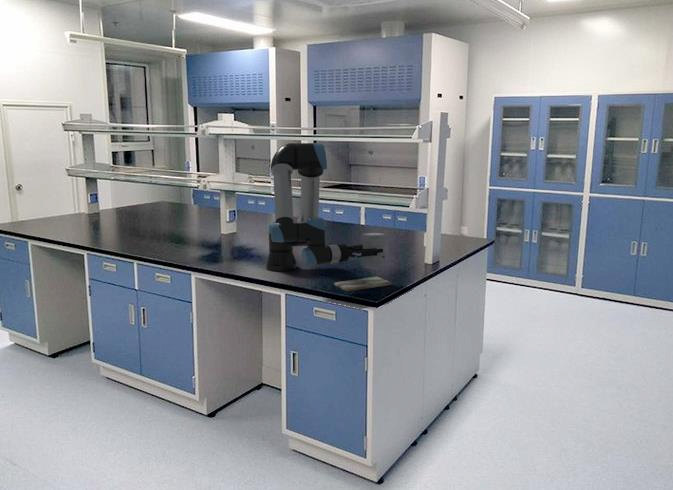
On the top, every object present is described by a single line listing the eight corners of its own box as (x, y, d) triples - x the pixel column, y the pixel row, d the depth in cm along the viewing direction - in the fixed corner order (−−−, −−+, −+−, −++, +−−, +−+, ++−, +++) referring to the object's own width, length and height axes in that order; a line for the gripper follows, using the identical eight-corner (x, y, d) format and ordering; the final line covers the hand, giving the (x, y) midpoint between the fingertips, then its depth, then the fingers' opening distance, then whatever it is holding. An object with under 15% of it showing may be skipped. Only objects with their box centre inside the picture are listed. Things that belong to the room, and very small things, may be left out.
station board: (333, 284, 239) (333, 282, 239) (376, 278, 249) (376, 276, 249) (347, 291, 229) (347, 289, 228) (391, 284, 239) (391, 282, 238)
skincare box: (370, 269, 235) (370, 235, 232) (361, 267, 240) (362, 233, 237) (385, 267, 239) (386, 233, 236) (376, 264, 244) (377, 231, 241)
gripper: (326, 257, 239) (372, 252, 249) (348, 266, 222) (395, 260, 233) (326, 240, 237) (372, 236, 248) (348, 248, 221) (396, 243, 231)
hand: (383, 248), depth 240 cm, fingers closed on skincare box, 6 cm apart
